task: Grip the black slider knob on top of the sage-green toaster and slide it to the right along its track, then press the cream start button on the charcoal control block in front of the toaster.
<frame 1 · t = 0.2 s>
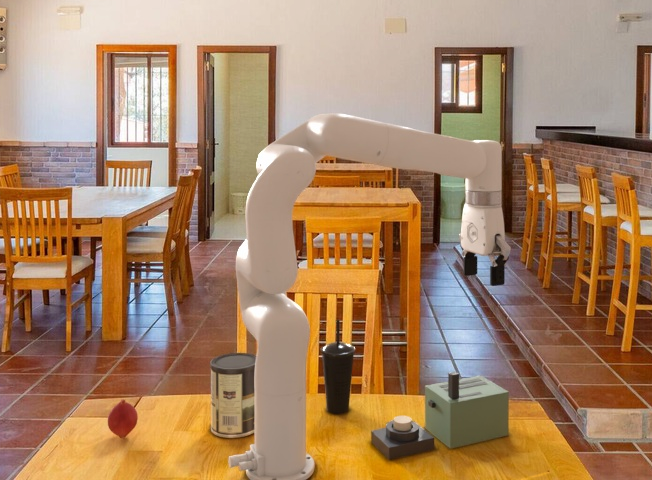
hand: (483, 279, 149), 31 cm above the table, tool pointing down, fingers open, 9 cm apart
onion: (122, 438, 144), on the table
coffee can: (235, 428, 148), on the table
control block: (402, 446, 140), on the table
toaster: (466, 431, 146), on the table
drinking cup: (337, 410, 157), on the table
start button: (402, 423, 140), point 4 cm above the table, slide at 0.1 cm
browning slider: (453, 385, 141), point 12 cm above the table, slide at 0.0 cm
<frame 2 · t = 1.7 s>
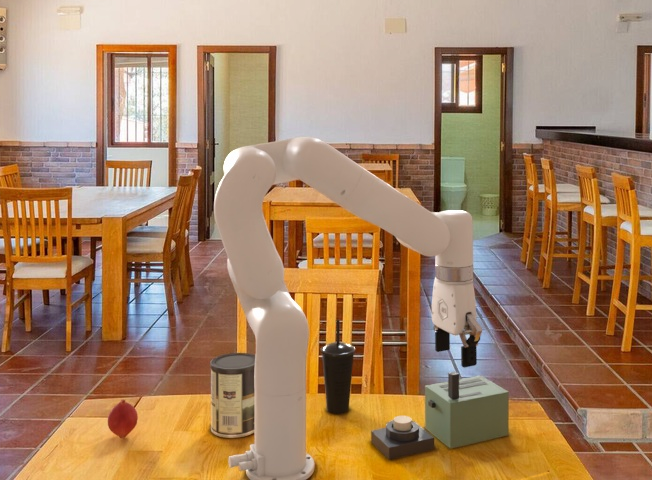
hand: (455, 358, 141), 17 cm above the table, tool pointing down, fingers open, 9 cm apart
nothing on the table moved.
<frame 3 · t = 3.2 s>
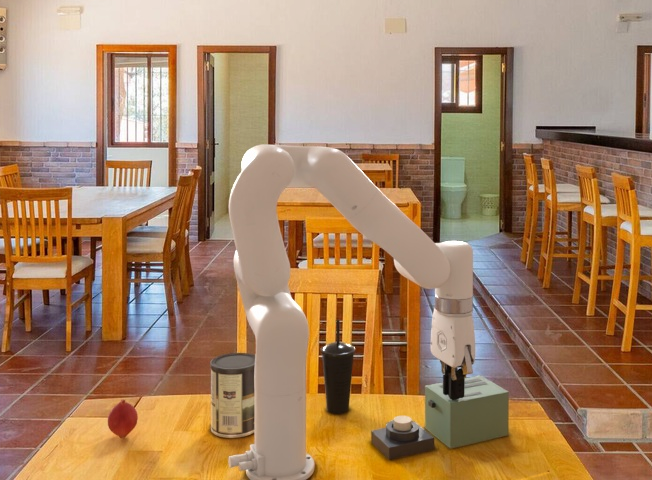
hand: (453, 395, 141), 10 cm above the table, tool pointing down, fingers closed on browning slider
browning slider: (453, 385, 141), point 12 cm above the table, slide at 0.0 cm, touching gripper
everything else where it was.
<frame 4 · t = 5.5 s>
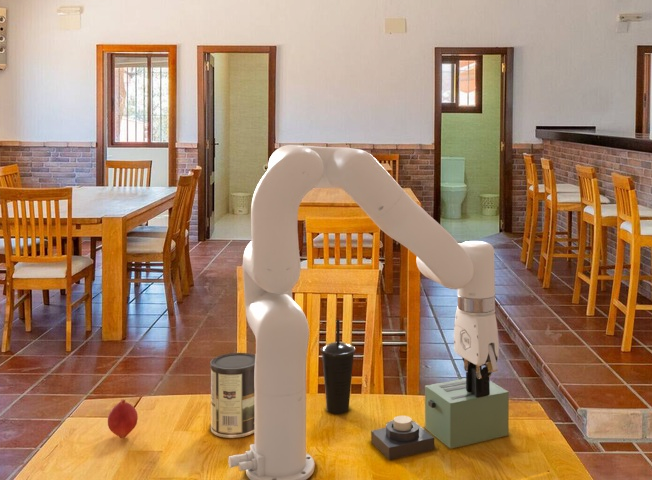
hand: (477, 392, 144), 9 cm above the table, tool pointing down, fingers closed
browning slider: (477, 380, 144), point 12 cm above the table, slide at 5.6 cm
everything else where it was.
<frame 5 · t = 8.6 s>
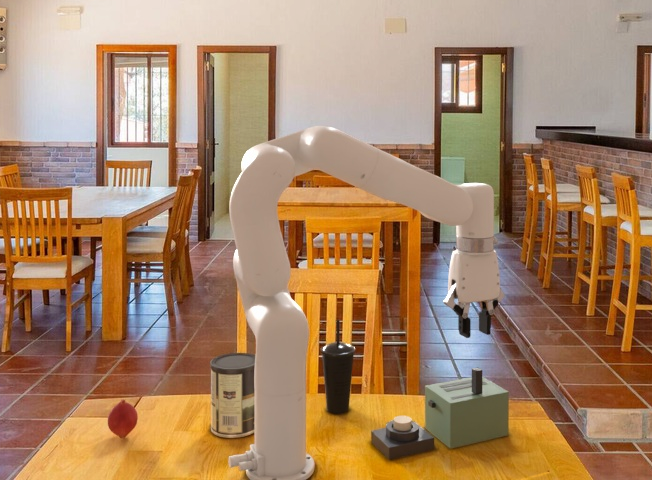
hand: (474, 333, 143), 21 cm above the table, tool pointing down, fingers open, 4 cm apart
nothing on the table moved.
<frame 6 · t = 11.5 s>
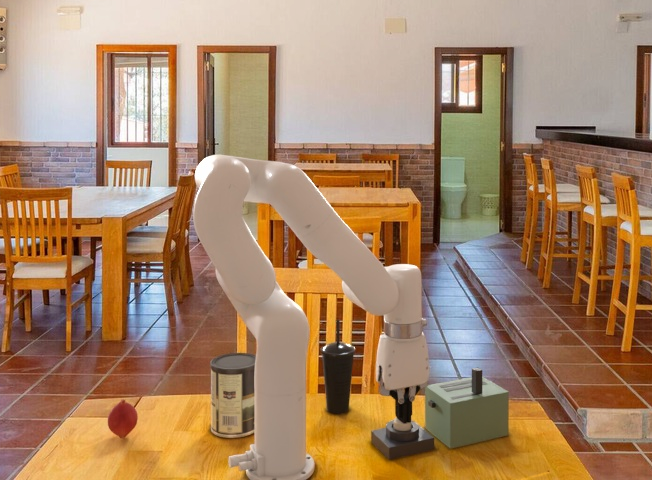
hand: (403, 420, 140), 5 cm above the table, tool pointing down, fingers closed
start button: (402, 424, 140), point 4 cm above the table, slide at -0.2 cm, touching gripper
everything else where it was.
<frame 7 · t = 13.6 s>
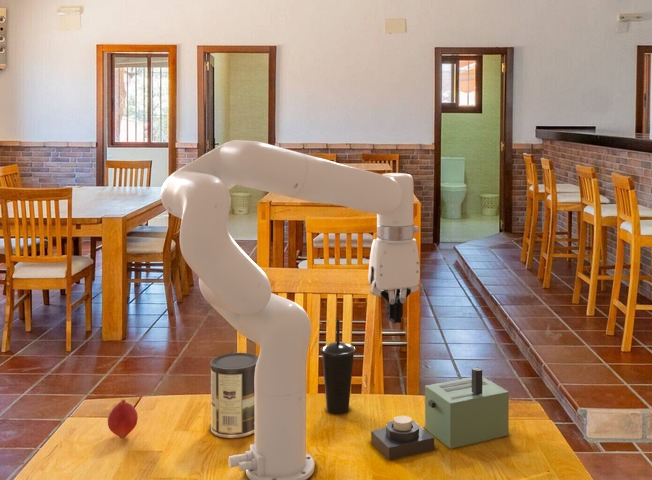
hand: (394, 321, 146), 23 cm above the table, tool pointing down, fingers closed
start button: (402, 423, 140), point 4 cm above the table, slide at 0.1 cm
everything else where it was.
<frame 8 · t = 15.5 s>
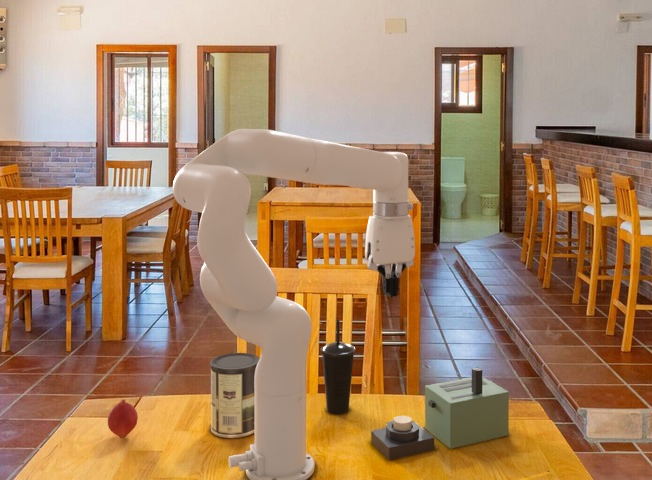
hand: (390, 295, 151), 27 cm above the table, tool pointing down, fingers closed
nothing on the table moved.
at the end: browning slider slide at 5.6 cm; start button pushed in 0.9 cm at the most during the clip and back out by the end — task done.
